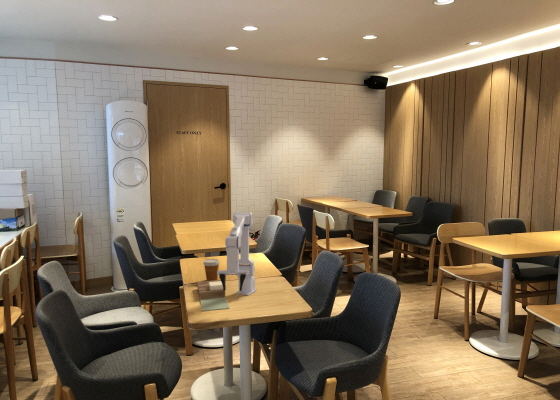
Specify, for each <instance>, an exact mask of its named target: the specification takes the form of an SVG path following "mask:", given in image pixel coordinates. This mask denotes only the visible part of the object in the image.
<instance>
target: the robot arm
mask: <svg viewBox="0 0 560 400" xmlns="http://www.w3.org/2000/svg"><path fill="white" fill-rule="evenodd" d="M232 222H233V224H234V226H233V227H232V228H230V232H229V235H227V237H225V239H224V240H225V243H224V244H225V252H226V269H225V270H224V269H223V270H218V271H217V275H218V276H219V277H218V278H219V280H221V282H222V285H223V290H224V291H225V292H226V291H227V288H226V282H227V281H226V278H227V276H237V278H238V291H236V292H235V294H237V295H244V296H250V295H251V294H253V293H255V292H256V291H257V289H256V279H255V273H256V272H255V271H256V270H255V269H256V268H255V267H256V266H255V261H253V260H252V259H251V258H250V229H251V228H253V227H254V214H253V213H252V212H251V211H250V212H234V213H233V214H232Z"/></svg>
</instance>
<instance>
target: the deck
mask: <svg viewBox="0 0 560 400" xmlns="http://www.w3.org/2000/svg"><path fill="white" fill-rule="evenodd" d="M218 281H221V280H220V279H219V280H218V279H217V280H215V281H207V280H206V281H205V280H204V281H197V292H198V297H199V300H200V299H210V298H220V297H225V298H226V290H225V291H224V290H223V289H221V290H210V288H209V282H218Z"/></svg>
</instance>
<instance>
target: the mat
mask: <svg viewBox="0 0 560 400" xmlns="http://www.w3.org/2000/svg"><path fill="white" fill-rule="evenodd" d="M199 300H200V305H201V310H202V312H209V311H218V310H228V309H229V310H230V306H229V303H228V300H227V298H226V296H225V297H220V298H210V299H200V298H199Z"/></svg>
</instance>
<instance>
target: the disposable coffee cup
mask: <svg viewBox="0 0 560 400" xmlns="http://www.w3.org/2000/svg"><path fill="white" fill-rule="evenodd" d="M219 266H220V260H219V259H217V258H208V259H205V260H204V261H203V267H204V272H205V278H206V281H215V280H218V278H219V277H218V276H219V275H217V271H219Z"/></svg>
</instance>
